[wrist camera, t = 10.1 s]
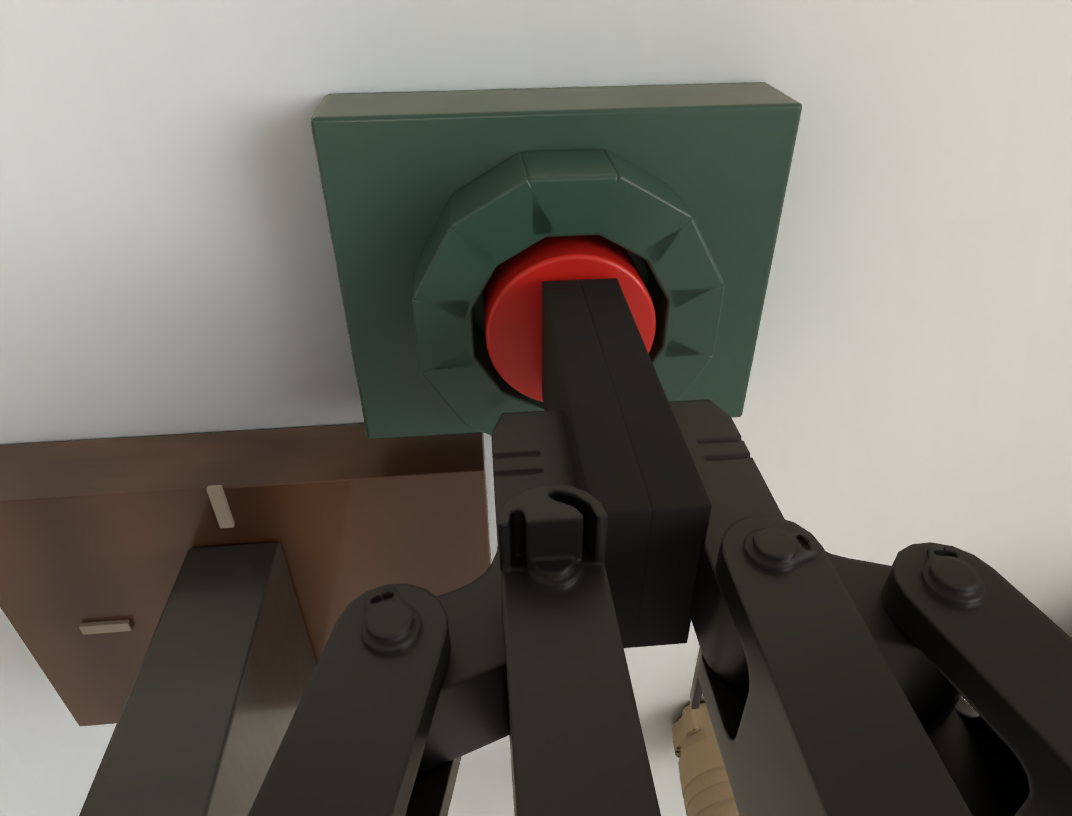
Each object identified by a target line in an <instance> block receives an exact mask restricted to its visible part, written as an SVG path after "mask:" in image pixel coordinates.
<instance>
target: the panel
mask: <svg viewBox="0 0 1072 816" xmlns="http://www.w3.org/2000/svg"><path fill="white" fill-rule="evenodd" d="M271 542H279V543H280V545H281V548H282V551H283V555H284V558H285V561H286V565H287V568H288V571H289V575H290V578H291V581H292V585H293V588H294V591H295V595H296V598H297V601H298V605H299V608H300V611H301V615H302V618H303V621H304V625H305V628H306V631H307V635H308V638H309V641H310V645H311V648H312V651H313V655H314V658H315V661H316V665H317V663H318V661H319V658H320V656H321V654H322V652H323V650H324V648H325V645H326V643H327V641H328V639H329V637H330V634H331V632H332V630H333V628H334V626H335V623H336V621H337V620H338V618H339V617H340V615H341V614H342V613H343V611H344V610H345V608H346V607H347V605H348V604H349V603H351V602H352V601H353V600H355V599H356V598H357V597H359V596H360V595H362V594H363V593H364V592H366V591H368V590H371V589H374V588H377V587H380V586H383V585H386V584H404V583H408V584H412V585H415V586H418V587H422V588H425V589H427V590H428V591H430V592H431V593H432V594H433V595H435V596H436V597H437V596H439V595H442V594H445V593H448V592H451V591H453V590H456V589H459V588H461V587H463V586H465V585H467V584H469V583H471V582H473V581H474V580H475V579H477V578H478V577H479V576H481V575H482V574H483V573H484V572H485V571H486V570H487V569H488V567H489V566H490V565H491V553H490V537H489V521H488V505H487V488H486V472H485V456H484V440H483V433H466V434H450V435H433V436H417V437H400V438H384V439H368V437H367V434H366V428H365V424H349V425H332V426H315V427H298V428H281V429H265V430H248V431H231V432H214V433H197V434H180V435H163V436H146V437H129V438H112V439H95V440H78V441H61V442H44V443H27V444H10V445H0V607H1V609H2V610H3V612H4V613H5V615H6V616H7V618H8V619H9V621H10V622H11V624H12V625H13V627H14V628H15V630H16V631H17V633H18V634H19V636H20V637H21V639H22V640H23V642H24V643H25V645H26V646H27V648H28V649H29V651H30V652H31V654H32V655H33V657H34V658H35V660H36V661H37V663H38V664H39V666H40V667H41V669H42V670H43V672H44V673H45V675H46V676H47V678H48V679H49V681H50V682H51V684H52V685H53V687H54V688H55V690H56V691H57V693H58V694H59V696H60V697H61V699H62V700H63V702H64V703H65V705H66V706H67V708H68V709H69V711H70V712H71V714H72V715H73V717H74V718H75V720H76V721H77V723H78V724H79V726H90V725H101V724H113V723H117V722H118V720H119V717H120V715H121V712H122V710H123V708H124V705H125V703H126V700H127V698H128V695H129V693H130V691H131V688H132V686H133V683H134V681H135V678H136V676H137V673H138V671H139V669H140V666H141V664H142V661H143V659H144V656H145V654H146V651H147V649H148V647H149V644H150V642H151V639H152V637H153V634H154V632H155V629H156V627H157V625H158V622H159V620H160V617H161V615H162V612H163V610H164V607H165V605H166V603H167V600H168V598H169V595H170V593H171V590H172V588H173V585H174V583H175V581H176V578H177V576H178V573H179V571H180V568H181V566H182V563H183V561H184V559H185V556H186V554H187V551H188V550H189V549H190V548H199V547H214V546H228V545H242V544H256V543H271Z"/></svg>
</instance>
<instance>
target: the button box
mask: <svg viewBox="0 0 1072 816" xmlns="http://www.w3.org/2000/svg"><path fill="white" fill-rule="evenodd" d="M801 110H802V106H801V104H800V103H799V102H797V101H795V100H794V99H792V98H790V97H789V96H787V95H785V94H784V93H782V92H780V91H779V90H777V89H775V88H774V87H772V86H770V85H769V84H767V83H765V82H759V83H722V84H685V85H648V86H611V87H574V88H538V89H501V90H464V91H427V92H390V93H353V94H329V95H327V96H326V97H325V98H324V100H323V101H322V103H321V104H320V106H319V107H318V109H317V111H316V112H315V114H314V115H313V117H312V118H311V127H312V133H313V138H314V144H315V150H316V155H317V161H318V166H319V172H320V177H321V183H322V189H323V194H324V200H325V205H326V211H327V216H328V222H329V228H330V233H331V239H332V244H333V250H334V255H335V261H336V267H337V272H338V278H339V283H340V289H341V294H342V300H343V306H344V311H345V317H346V322H347V328H348V333H349V339H350V345H351V350H352V356H353V361H354V367H355V373H356V378H357V384H358V389H359V395H360V400H361V406H362V412H363V417H364V423H365V428H366V434H367V437H368V439H384V438H400V437H417V436H433V435H450V434H466V433H483V432H484V433H487V434H489V435H491V432H492V430H493V429H494V427H495V425H496V423H497V422H498V420H499V418H500V417H501V415H502V413H510V412H528V411H545V410H544V405H543V402H541V401H538V400H535V399H532V398H530V397H528V396H526V395H523V394H522V393H520V392H518V391H517V390H515V389H514V388H513V387H511V386H510V385H509V384H508V383H507V382H506V381H505V380H504V379H503V378H502V377H501V376H500V375H499V373H498V372H497V370H496V369H495V367H494V365H493V363H492V361H491V359H490V357H489V353H488V350H487V344H486V335H485V321H484V306H483V294H484V288H485V286H486V284H487V282H488V280H489V278H490V277H491V275H492V273H493V271H494V270H495V268H496V266H498V265H499V264H501V263H503V262H504V261H506V260H508V259H509V258H511V257H513V256H514V255H516V254H518V253H520V252H521V251H523V250H525V249H526V248H528V247H530V246H531V245H533V244H535V243H536V242H538V241H540V240H541V239H543V238H545V237H558V236H582V235H600V236H602V237H604V238H606V239H607V240H609V241H611V242H613V243H615V244H617V245H619V246H621V247H623V248H624V249H625V250H626V251H627V252H628V254H629V255H630V257H631V258H632V260H633V262H634V264H635V266H636V268H637V270H638V272H639V274H640V276H641V278H642V280H643V282H644V284H645V286H646V288H647V290H648V293H649V295H650V297H651V299H652V302H653V306H654V309H655V317H656V330H655V335H654V340H653V343H652V346H651V349H650V351H649V356H650V358H651V361H652V363H653V366H654V368H655V370H656V373H657V375H658V377H659V380H660V382H661V385H662V387H663V389H664V392H665V394H666V397H667V399H668V401H686V400H703V399H710V400H711V401H712V402H713V403H715V404H716V405H717V406H718V407H720V408H721V409H722V410H723V411H725V412H726V413H727V414H728V415H730V416H731V417H740V416H741V415H742V412H743V407H744V402H745V396H746V391H747V386H748V381H749V376H750V371H751V366H752V361H753V355H754V350H755V345H756V340H757V335H758V330H759V325H760V320H761V314H762V309H763V304H764V299H765V294H766V289H767V284H768V279H769V273H770V268H771V263H772V258H773V253H774V248H775V243H776V238H777V233H778V227H779V222H780V217H781V212H782V207H783V202H784V197H785V192H786V186H787V181H788V176H789V171H790V166H791V161H792V156H793V151H794V145H795V140H796V135H797V130H798V125H799V120H800V115H801Z"/></svg>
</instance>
